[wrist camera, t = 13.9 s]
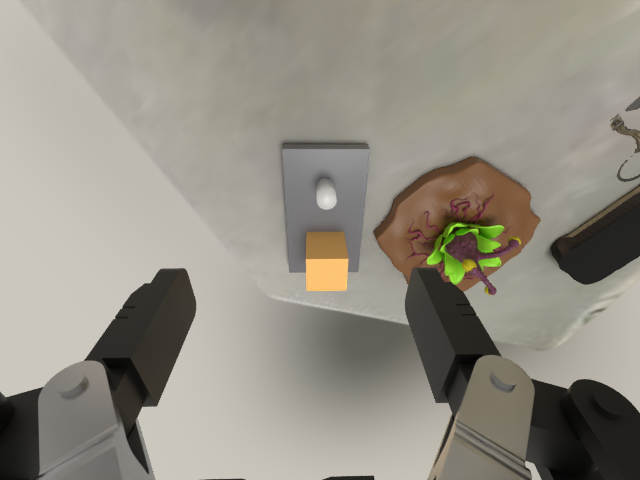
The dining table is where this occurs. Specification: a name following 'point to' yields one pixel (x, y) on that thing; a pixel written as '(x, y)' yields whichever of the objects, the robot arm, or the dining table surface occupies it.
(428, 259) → the plant
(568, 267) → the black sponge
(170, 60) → the dining table surface
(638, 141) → the hacksaw
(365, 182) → the board
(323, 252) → the pale orange cube
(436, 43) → the dining table surface
